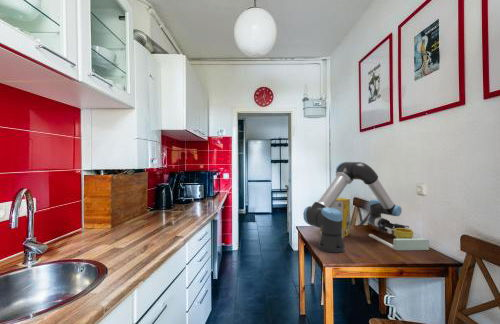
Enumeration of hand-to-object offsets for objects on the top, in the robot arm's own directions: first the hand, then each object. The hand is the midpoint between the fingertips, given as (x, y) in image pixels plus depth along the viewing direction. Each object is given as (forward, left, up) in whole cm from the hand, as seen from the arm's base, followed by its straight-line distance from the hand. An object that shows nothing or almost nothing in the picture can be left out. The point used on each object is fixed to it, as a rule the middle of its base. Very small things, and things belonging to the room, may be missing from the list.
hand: (401, 231), depth 168 cm
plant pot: (+1, -2, -8) cm, 9 cm away
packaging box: (-41, +6, -8) cm, 42 cm away
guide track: (-3, +4, -8) cm, 10 cm away
